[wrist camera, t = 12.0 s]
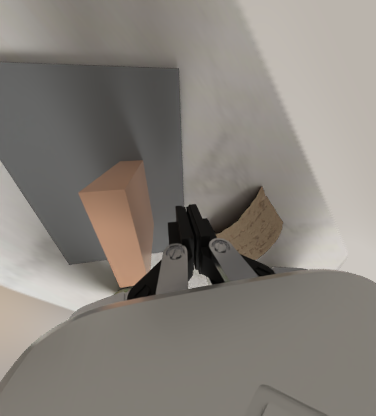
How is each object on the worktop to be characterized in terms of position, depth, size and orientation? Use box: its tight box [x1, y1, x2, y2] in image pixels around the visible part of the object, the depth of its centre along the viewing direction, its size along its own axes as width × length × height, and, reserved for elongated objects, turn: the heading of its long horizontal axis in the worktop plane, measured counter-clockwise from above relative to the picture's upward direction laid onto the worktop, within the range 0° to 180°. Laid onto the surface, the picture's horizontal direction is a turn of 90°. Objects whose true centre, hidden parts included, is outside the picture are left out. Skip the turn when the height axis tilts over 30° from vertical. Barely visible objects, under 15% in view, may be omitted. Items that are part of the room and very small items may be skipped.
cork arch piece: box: [216, 186, 283, 260], centre depth 22 cm, size 14×10×3 cm
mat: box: [0, 62, 184, 265], centre depth 15 cm, size 20×16×1 cm
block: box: [78, 160, 154, 288], centre depth 12 cm, size 8×2×8 cm, turn 1°
